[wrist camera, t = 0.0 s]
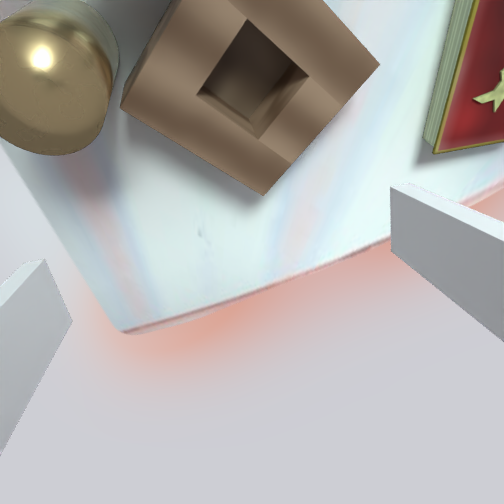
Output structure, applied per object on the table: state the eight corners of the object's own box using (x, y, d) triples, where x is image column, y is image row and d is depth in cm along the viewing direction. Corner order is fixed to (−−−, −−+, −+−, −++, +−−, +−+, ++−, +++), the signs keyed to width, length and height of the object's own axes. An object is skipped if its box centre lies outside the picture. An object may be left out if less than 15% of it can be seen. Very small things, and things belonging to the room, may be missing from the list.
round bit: (39, -32, 29) (-13, -9, 20) (135, 39, 33) (127, 83, 24) (4, 59, 32) (-54, 112, 23) (95, 112, 36) (75, 174, 28)
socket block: (224, -94, 28) (236, -96, 24) (353, 46, 37) (380, 64, 32) (124, 84, 35) (119, 108, 31) (252, 168, 44) (263, 196, 39)
